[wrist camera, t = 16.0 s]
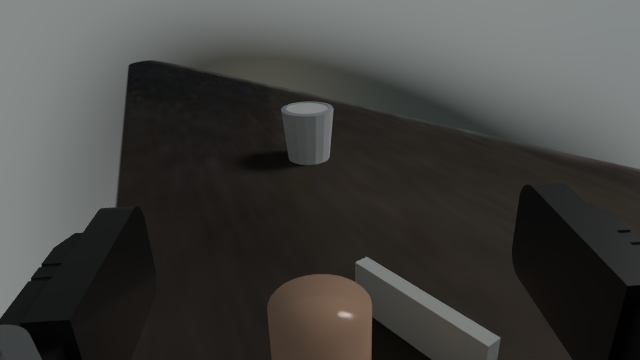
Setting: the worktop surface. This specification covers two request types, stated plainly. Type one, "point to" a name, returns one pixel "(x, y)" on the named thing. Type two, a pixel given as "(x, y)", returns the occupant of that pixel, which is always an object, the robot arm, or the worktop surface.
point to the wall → (423, 317)
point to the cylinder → (320, 319)
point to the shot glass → (308, 131)
